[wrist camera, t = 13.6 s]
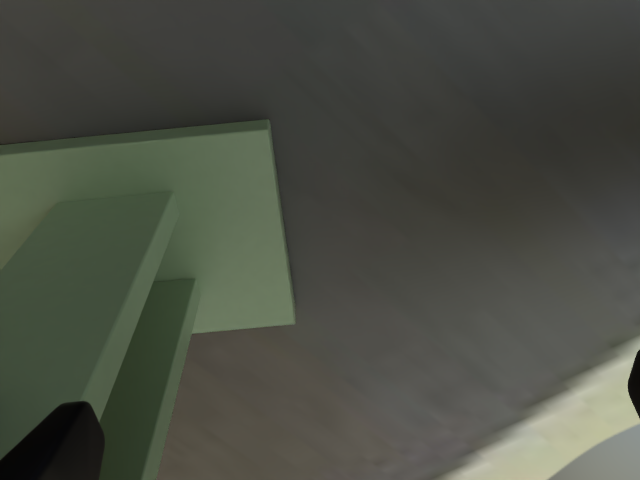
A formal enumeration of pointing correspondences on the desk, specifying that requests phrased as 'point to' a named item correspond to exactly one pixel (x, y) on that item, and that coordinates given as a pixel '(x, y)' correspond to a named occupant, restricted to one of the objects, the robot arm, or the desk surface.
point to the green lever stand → (132, 273)
